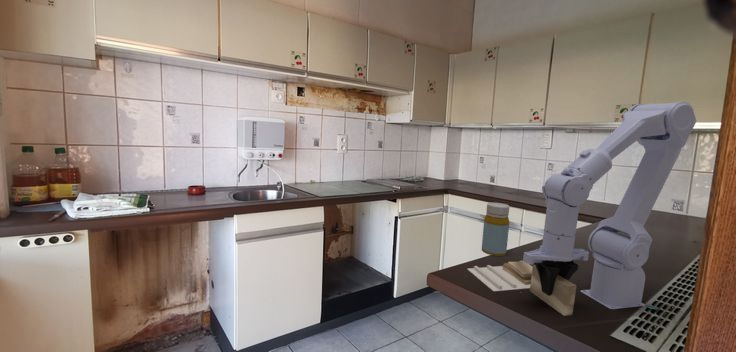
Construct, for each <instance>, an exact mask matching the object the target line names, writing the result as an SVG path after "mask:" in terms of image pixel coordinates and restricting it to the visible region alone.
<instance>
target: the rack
mask: <svg viewBox="0 0 736 352" xmlns="http://www.w3.org/2000/svg"><path fill="white" fill-rule="evenodd" d="M518 262H524V261H523V260H519V261H518ZM502 267H503V265H499V266H492V265H490V264H487V265H486V266H485V267H479V266H477V265H475V266H473V267H471V268H470V267H469V268H467V270H468V272H470V273H471V274H472V275H474V276H475V277H476V279H478V280H479V281H481V282H482V283H483V284H484V285H485V286H487V287H488V289H490V290H491V291H493V292H501V291H502V292H503V291H511V290H523V289H530V285H531V284H529V285H525V284H523V283H522V282H521V281H519V280H518V279H516V278H515V277H513V276H512V275H511V274H509V273H508V272H506V271H505V270H503V269H502Z"/></svg>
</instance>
